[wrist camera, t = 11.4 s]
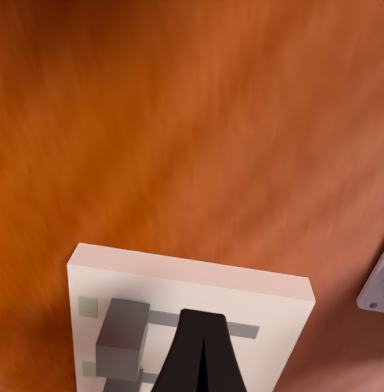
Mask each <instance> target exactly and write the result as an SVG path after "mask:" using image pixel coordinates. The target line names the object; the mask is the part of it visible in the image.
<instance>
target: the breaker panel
mask: <svg viewBox="0 0 384 392" xmlns="http://www.w3.org/2000/svg"><path fill="white" fill-rule="evenodd" d="M67 270H68V283H69V296H70V308H71V321H72V333H73V346H74V359H75V371H76V384H77V392H103V389H104V386H105V382H106V379H107V378H105V377H99V376H96V351H95V344H96V341H97V338H98V336H99V333H100V330H101V327H102V325H103V322H104V319H105V316H106V313H107V311H108V308H109V305H110V302H111V299H112V298H115V299H121V300H128V301H135V302H141V303H148V304H150V312H149V322H148V331H147V338H146V342H145V347H144V352H143V356H142V361H141V366H140V369H143V379H142V388H141V392H151V390H152V388H153V386H154V383H155V381H156V379H157V377H158V375H159V373H160V371H161V368H162V366H163V364H164V361H165V359H166V356H167V354H168V352H169V349H170V346H171V344H172V341H173V338H174V335H175V332H176V329H177V325H178V321H179V316H180V310H182V309H184V308H186V309H193V310H199V311H206V312H212V313H219V314H224V316H225V317H226V321H227V326H228V330H229V335H230V339H231V342H232V346H233V350H234V353H235V356H236V360H237V363H238V366H239V369H240V372H241V375H242V378H243V381H244V384H245V387H246V390H247V392H272V391H273V389H274V387H275V385H276V383H277V381H278V379H279V377H280V375H281V373H282V371H283V369H284V367H285V364H286V362H287V360H288V358H289V356H290V354H291V352H292V350H293V348H294V346H295V344H296V342H297V340H298V338H299V336H300V334H301V331H302V329H303V327H304V325H305V323H306V321H307V319H308V317H309V315H310V313H311V311H312V309H313V307H314V305H315V303H316V301H315V298H314V294H313V291H312V288H311V285H310V282H309V279H308V278H307V277H300V276H294V275H287V274H281V273H274V272H268V271H261V270H255V269H248V268H242V267H235V266H229V265H222V264H216V263H209V262H203V261H196V260H189V259H183V258H176V257H170V256H163V255H157V254H150V253H144V252H137V251H131V250H124V249H118V248H111V247H105V246H98V245H91V244H85V243H79V244H78V246H77V247H76V249H75V251H74V253H73V254H72V256H71V258H70V260H69V261H68V263H67Z"/></svg>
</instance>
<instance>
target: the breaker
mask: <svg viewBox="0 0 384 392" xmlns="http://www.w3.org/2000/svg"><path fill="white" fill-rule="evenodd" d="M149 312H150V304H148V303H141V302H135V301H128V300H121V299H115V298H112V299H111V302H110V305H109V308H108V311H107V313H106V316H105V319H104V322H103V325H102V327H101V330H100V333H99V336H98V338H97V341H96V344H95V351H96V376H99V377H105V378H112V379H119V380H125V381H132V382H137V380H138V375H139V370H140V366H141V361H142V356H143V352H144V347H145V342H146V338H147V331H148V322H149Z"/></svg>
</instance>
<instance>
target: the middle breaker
mask: <svg viewBox="0 0 384 392" xmlns="http://www.w3.org/2000/svg"><path fill="white" fill-rule="evenodd" d="M142 379H143V369H140V370H139V375H138V380H137V382H132V381H125V380H119V379H112V378H107V379H106V382H105V386H104V389H103V392H141V388H142Z"/></svg>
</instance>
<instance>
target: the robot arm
mask: <svg viewBox="0 0 384 392" xmlns="http://www.w3.org/2000/svg"><path fill="white" fill-rule="evenodd" d="M356 303H357V305H358V307H359V308H360V309H365V310H371V311H378V312H384V252H383V254H382V256H381V257H380V259H379V261H378V263H377V264H376V266H375V268H374V270H373V271H372V273H371V275H370V277H369V278H368V280H367V282H366V283H365V285H364V287H363V289H362V290H361V292H360V294H359V296H358V297H357V299H356ZM151 392H247V390H246V387H245V384H244V381H243V378H242V375H241V372H240V369H239V366H238V363H237V360H236V356H235V353H234V350H233V346H232V342H231V339H230V335H229V330H228V326H227V321H226V317H225V316H224V314H219V313H212V312H206V311H199V310H193V309H186V308H184V309H182V310H180V316H179V321H178V325H177V329H176V332H175V335H174V338H173V341H172V344H171V346H170V349H169V352H168V354H167V356H166V359H165V361H164V364H163V366H162V368H161V371H160V373H159V375H158V377H157V379H156V381H155V383H154V386H153V388H152V390H151Z"/></svg>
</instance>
